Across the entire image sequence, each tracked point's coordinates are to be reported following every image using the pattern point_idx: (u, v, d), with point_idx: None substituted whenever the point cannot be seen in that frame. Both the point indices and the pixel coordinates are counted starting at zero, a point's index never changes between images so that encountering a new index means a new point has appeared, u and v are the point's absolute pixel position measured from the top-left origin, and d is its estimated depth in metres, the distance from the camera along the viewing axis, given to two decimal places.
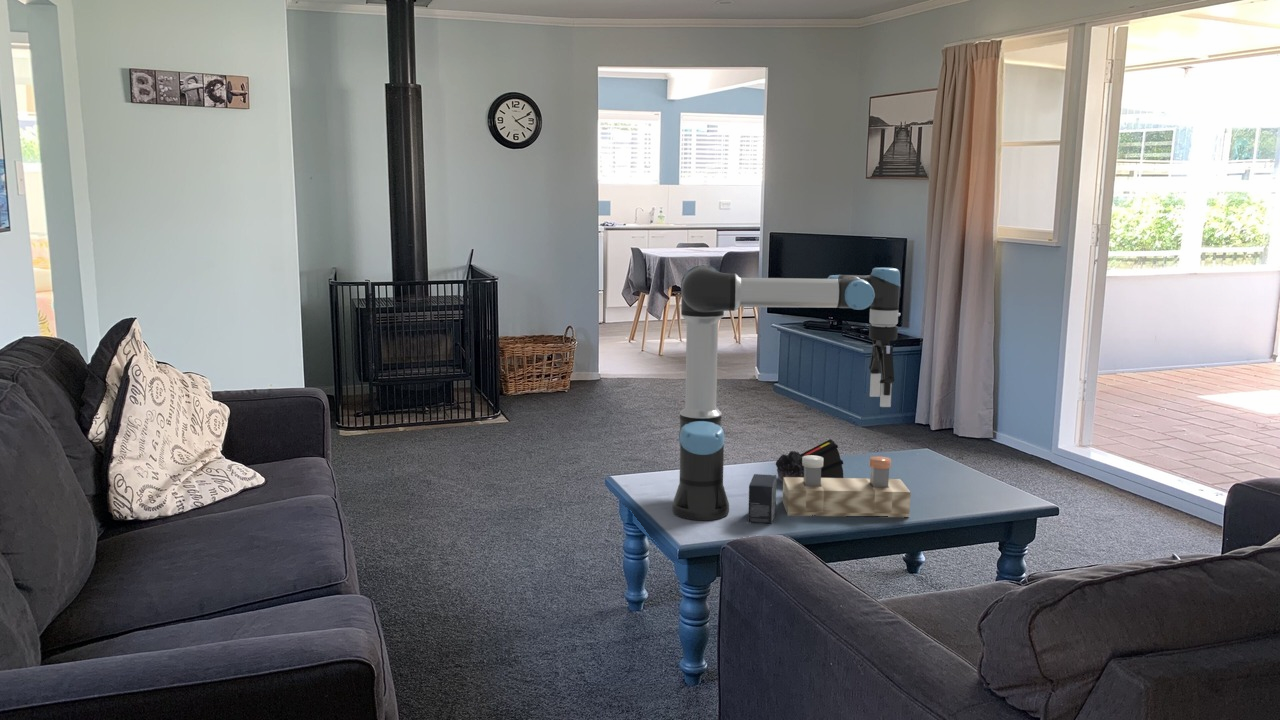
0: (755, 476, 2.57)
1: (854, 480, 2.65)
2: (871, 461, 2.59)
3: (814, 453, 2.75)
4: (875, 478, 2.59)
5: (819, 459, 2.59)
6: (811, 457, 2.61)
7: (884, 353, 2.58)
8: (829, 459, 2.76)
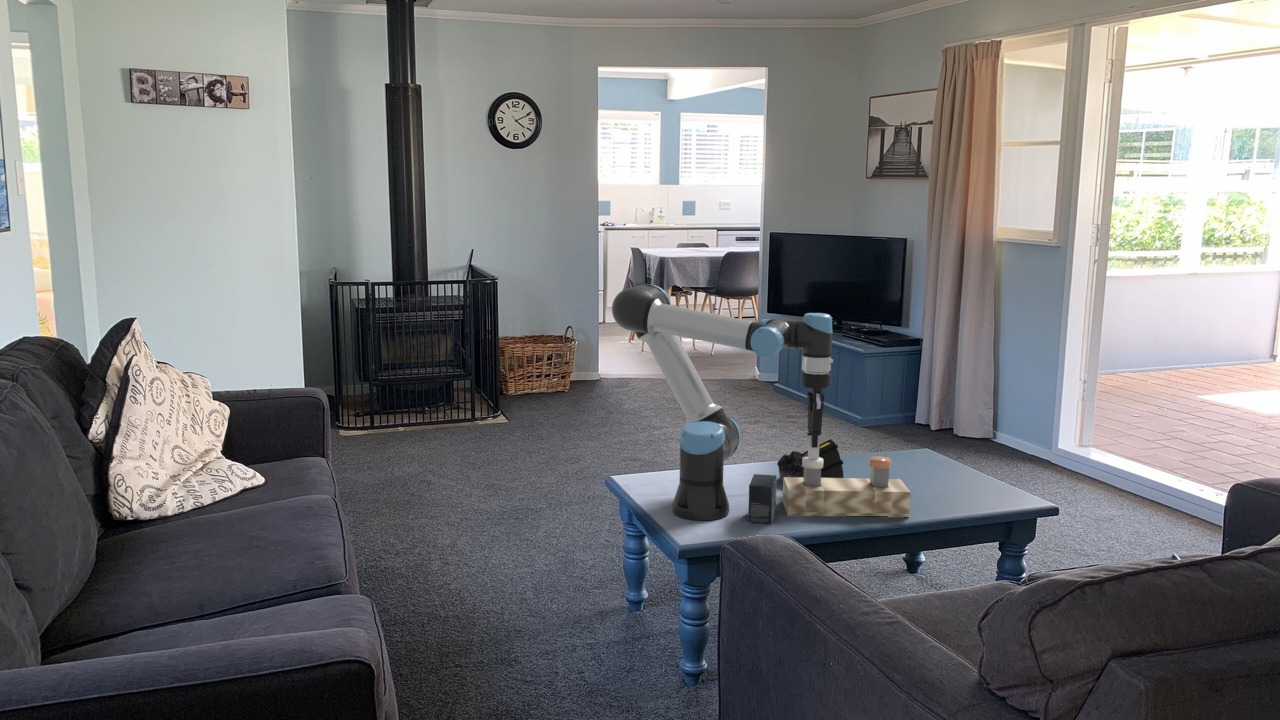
0: (755, 476, 2.57)
1: (854, 480, 2.65)
2: (871, 461, 2.59)
3: None
4: (875, 478, 2.59)
5: (819, 460, 2.59)
6: None
7: (814, 409, 2.53)
8: (829, 459, 2.76)
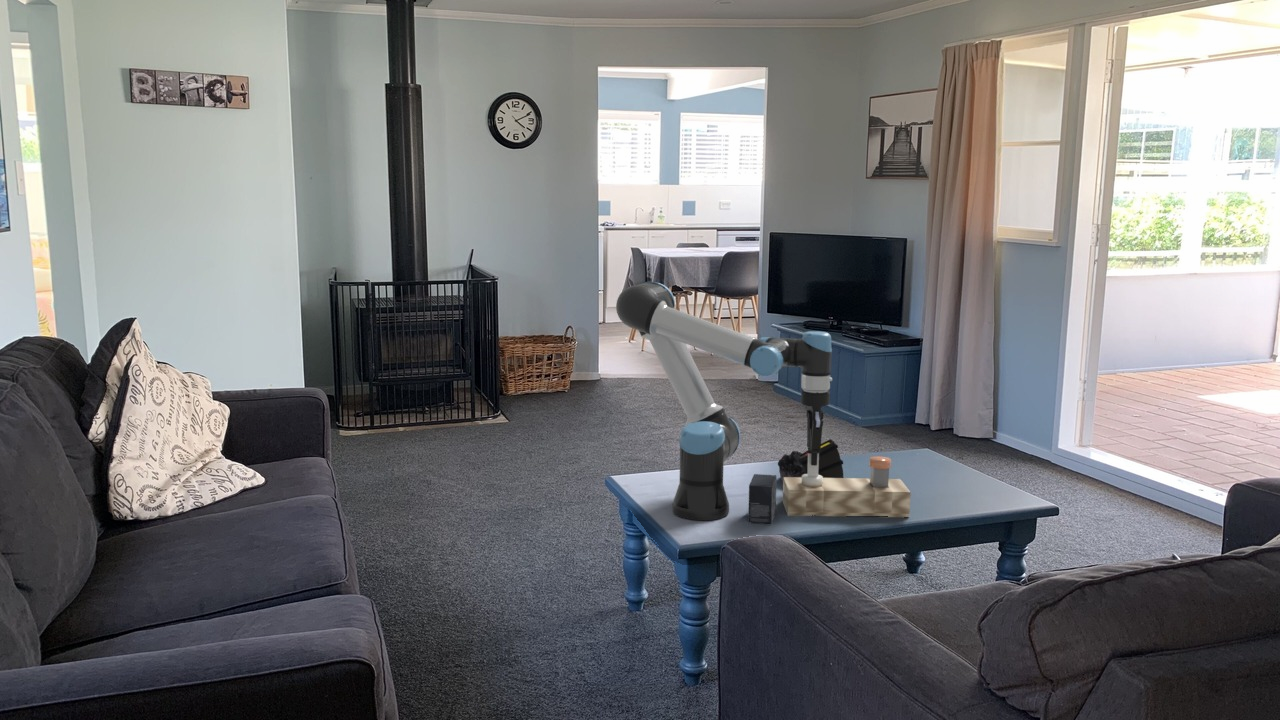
0: (755, 476, 2.57)
1: (854, 480, 2.65)
2: (871, 461, 2.59)
3: None
4: (875, 478, 2.59)
5: (818, 478, 2.60)
6: None
7: (813, 427, 2.54)
8: (829, 459, 2.76)
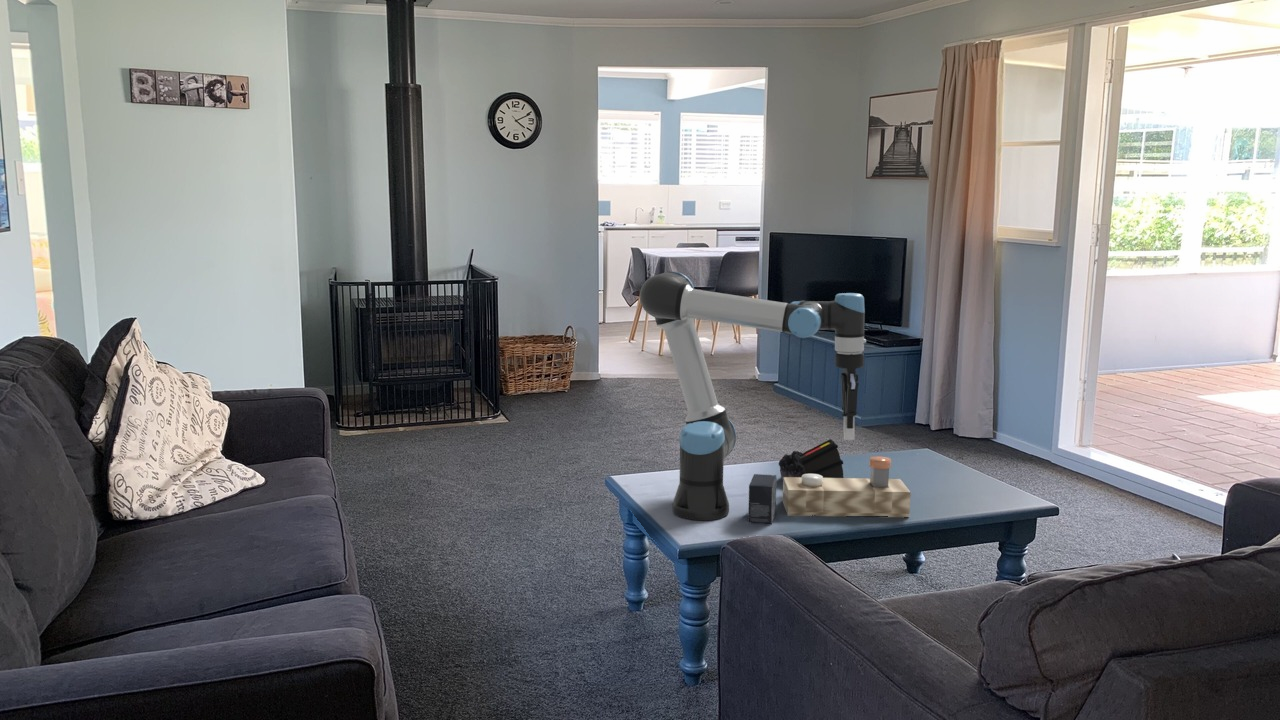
0: (755, 476, 2.57)
1: (854, 480, 2.65)
2: (871, 461, 2.59)
3: (814, 453, 2.75)
4: (875, 478, 2.59)
5: (818, 478, 2.60)
6: (810, 475, 2.62)
7: (849, 389, 2.51)
8: (829, 459, 2.76)
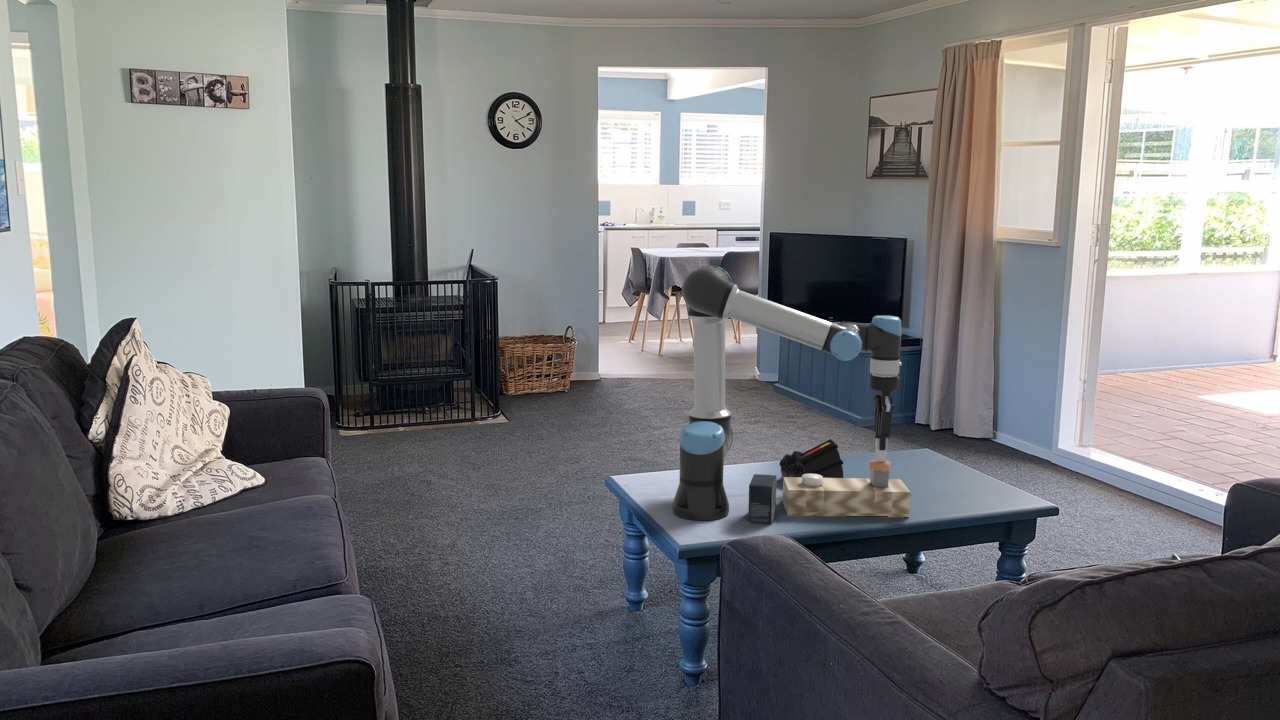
0: (755, 476, 2.57)
1: (854, 480, 2.65)
2: (871, 464, 2.59)
3: (814, 453, 2.75)
4: (874, 481, 2.59)
5: (818, 478, 2.60)
6: (810, 475, 2.62)
7: (883, 412, 2.52)
8: (829, 459, 2.76)
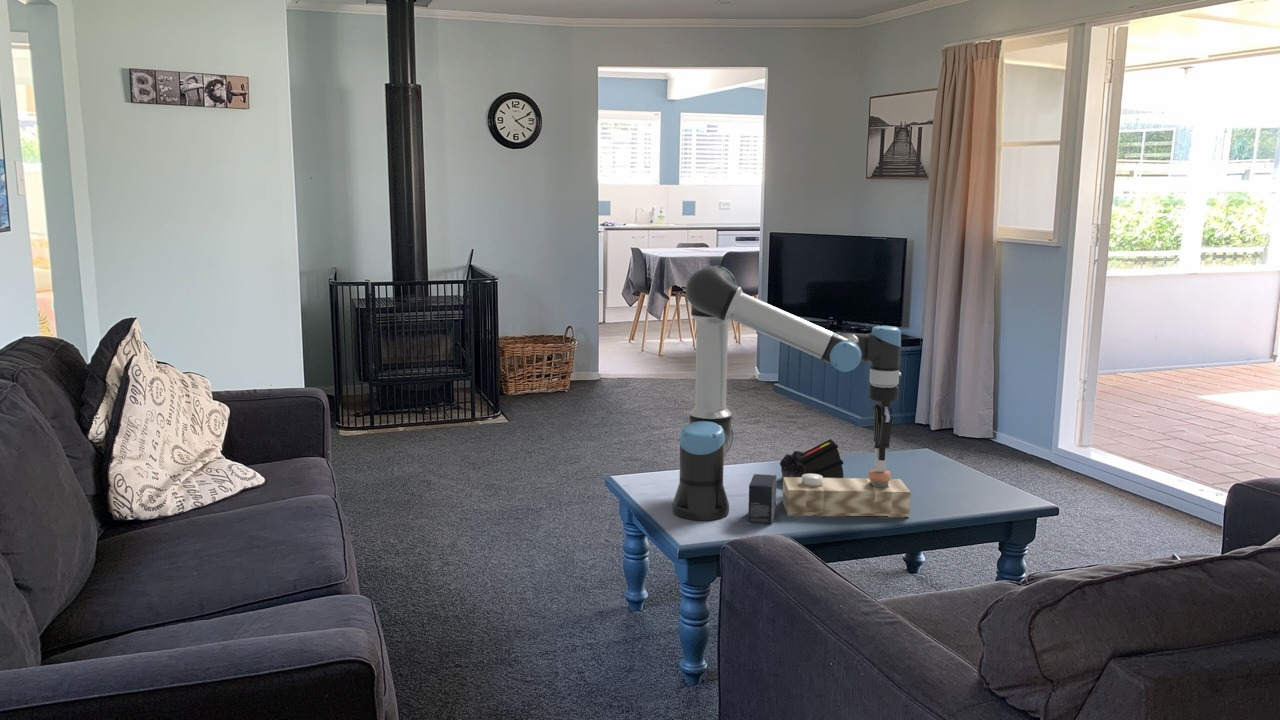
0: (755, 476, 2.57)
1: (854, 480, 2.65)
2: (870, 474, 2.60)
3: (814, 453, 2.75)
4: None
5: (818, 478, 2.60)
6: (810, 475, 2.62)
7: (883, 422, 2.53)
8: (829, 459, 2.76)
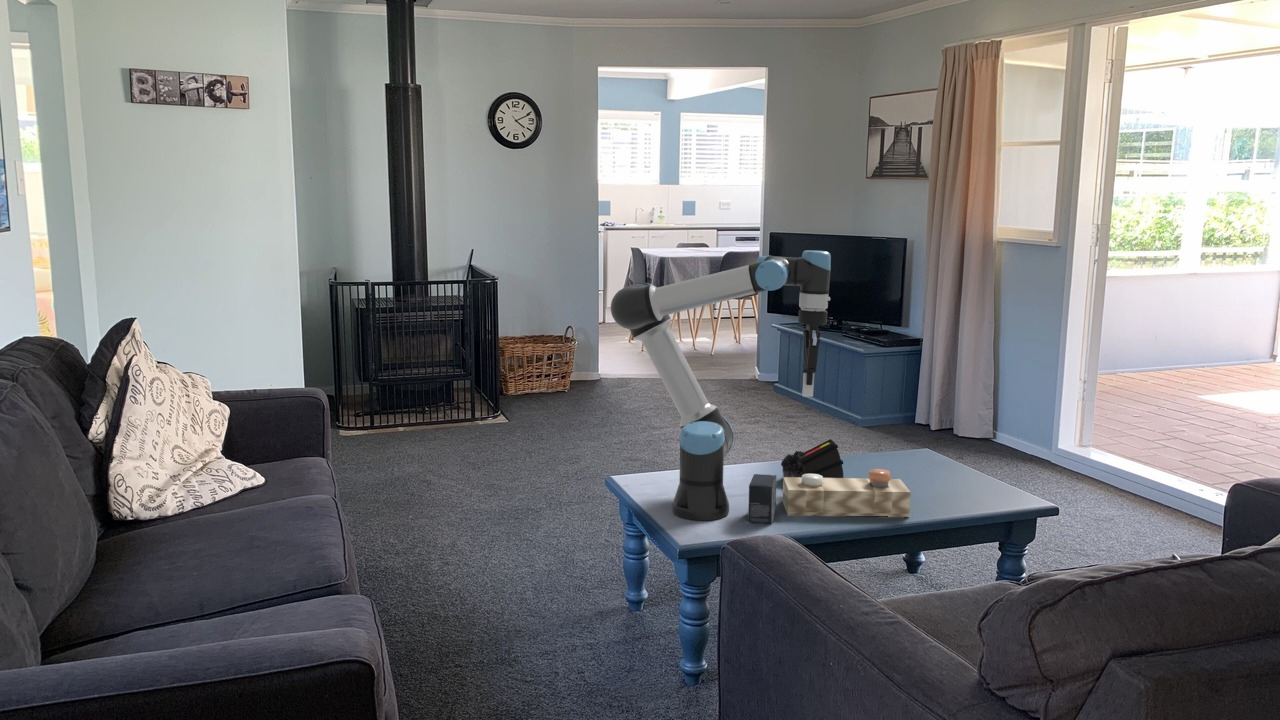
0: (755, 476, 2.57)
1: (854, 480, 2.65)
2: (870, 474, 2.60)
3: (814, 453, 2.75)
4: None
5: (818, 478, 2.60)
6: (810, 475, 2.62)
7: (810, 345, 2.54)
8: (829, 459, 2.76)
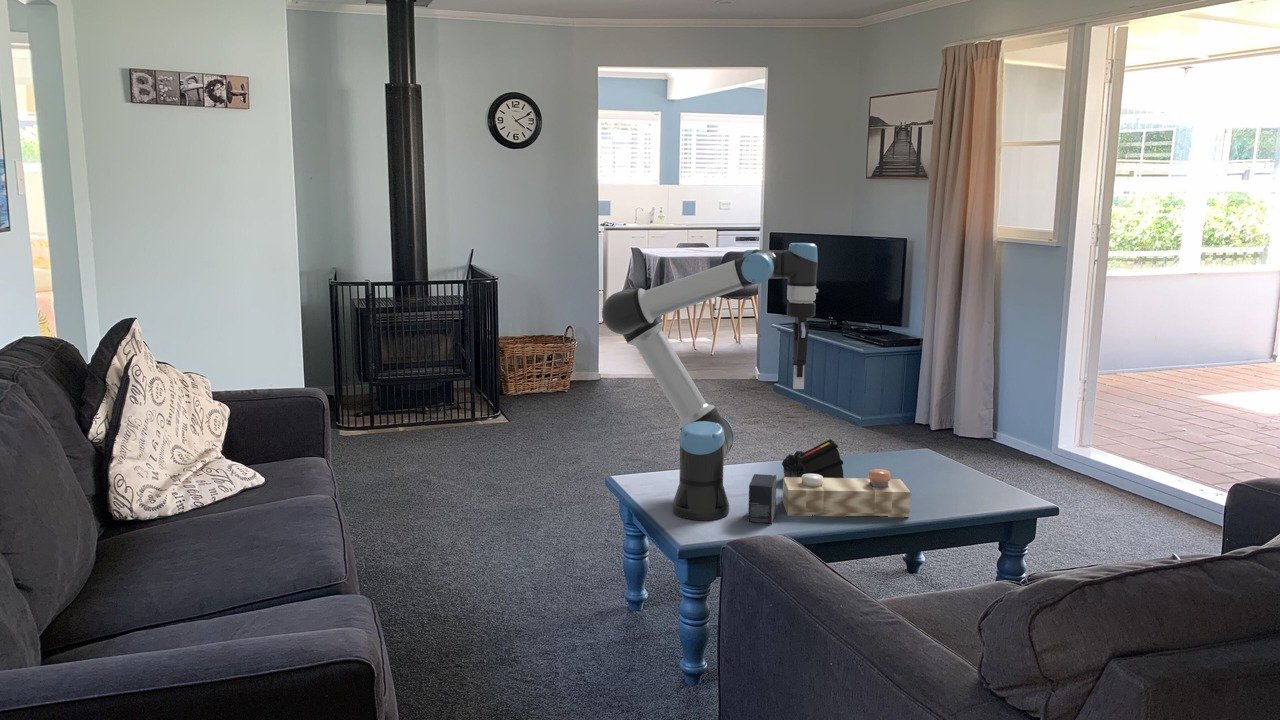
0: (755, 476, 2.57)
1: (854, 480, 2.65)
2: (870, 474, 2.60)
3: (814, 453, 2.75)
4: None
5: (818, 478, 2.60)
6: (810, 475, 2.62)
7: (799, 337, 2.54)
8: (829, 459, 2.76)
